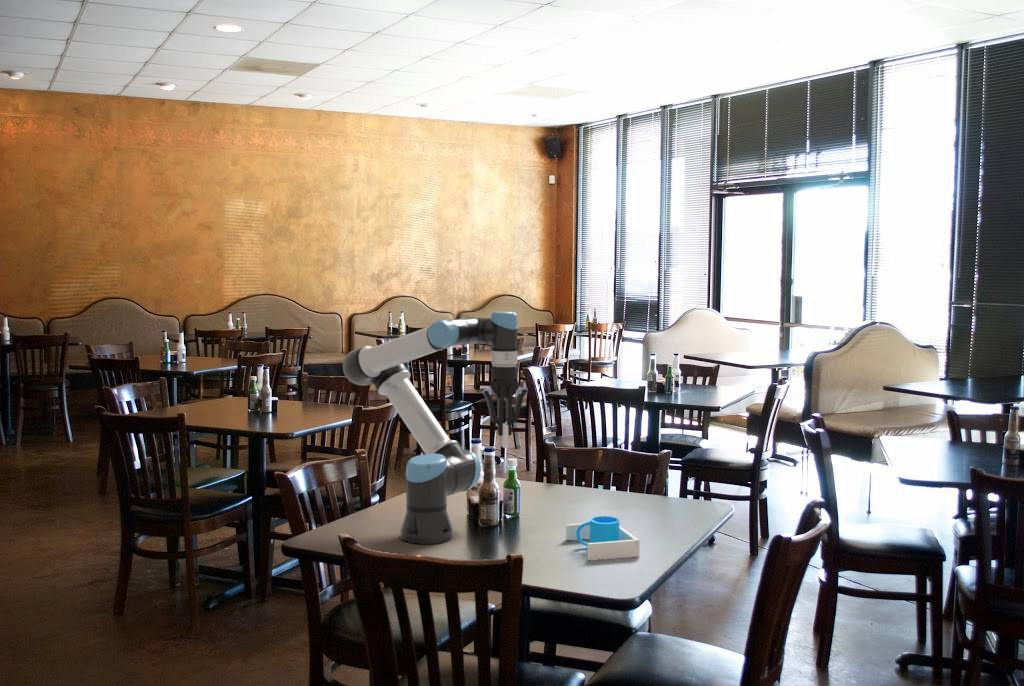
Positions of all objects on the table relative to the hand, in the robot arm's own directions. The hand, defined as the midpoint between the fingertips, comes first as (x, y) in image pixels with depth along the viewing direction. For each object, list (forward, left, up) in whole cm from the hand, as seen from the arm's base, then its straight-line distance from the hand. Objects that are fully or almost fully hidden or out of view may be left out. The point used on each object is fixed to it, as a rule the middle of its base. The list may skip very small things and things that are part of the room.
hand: (504, 446), depth 277 cm
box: (+23, -18, -26) cm, 39 cm away
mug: (+22, -18, -27) cm, 39 cm away
